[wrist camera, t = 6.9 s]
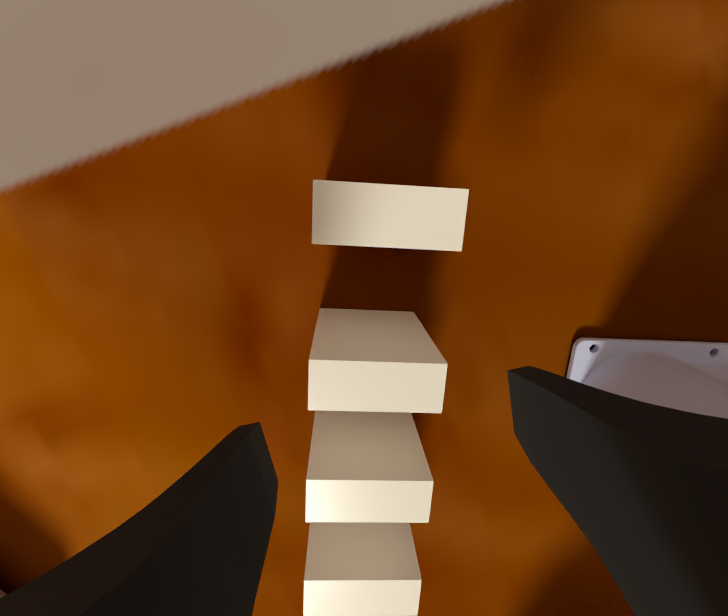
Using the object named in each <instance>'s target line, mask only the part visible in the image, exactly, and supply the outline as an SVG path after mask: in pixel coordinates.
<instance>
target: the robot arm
mask: <svg viewBox="0 0 728 616" xmlns="http://www.w3.org/2000/svg"><path fill="white" fill-rule="evenodd" d="M593 344H594V348H593V349H592V350H590V349H589V348H590V346H591V345H593ZM711 350H712V352H711V353H710V351H711ZM507 372H508V381H509V390H510V399H511V408H512V416H513V425H514V433H515V435H516V437H517V439H518V440H519V442H520V444H521V446H522V448H523V450H524V451H525V453H526V455H527V456H528V458H529V460H530V462H531V463H532V465H533V466H534V467H535V469H536V470H537V471H538V473H539V474H540V476H541V477H542V478H543V480H544V481H545V482H546V484H547V485H548V486H549V488H550V489H551V490H552V492H553V493H554V494H555V496H556V497H557V498H558V500H559V501H560V502H561V504H562V505H563V506H564V507H565V509H566V510H567V511H568V513H569V514H570V515H571V517H572V518H573V519H574V521H575V522H576V523H577V525H578V526H579V527H580V529H581V530H582V531H583V533H584V534H585V536H586V537H587V538H588V540H589V541H590V543H591V544H592V546H593V547H594V549H595V550H596V552H597V553H598V555H599V556H600V558H601V560H602V561H603V563H604V565H605V566H606V568H607V569H608V571H609V573H610V574H611V576H612V578H613V579H614V581H615V582H616V584H617V586H618V587H619V589H620V591H621V592H622V594H623V596H624V597H625V599H626V601H627V602H628V604H629V606H630V608H631V609H632V611H633V613H634V614H635V616H728V343H719V342H691V341H664V340H637V339H610V338H579V339H577V340H576V341H575V342H574V344H573V348H572V353H571V358H570V362H569V367H568V372H567V377H566V378H565V377H562V376H559V375H557V374H554V373H551V372H548V371H545V370H542V369H538V368H535V367H530V366H526V367H522V368H517V369H512V370H507ZM277 490H278V479H277V476H276V473H275V470H274V466H273V463H272V460H271V457H270V453H269V450H268V447H267V444H266V441H265V437H264V434H263V431H262V428H261V424H260V422H257V423H252V424H248V425H243V426H239V427H237V428H236V429H235V430H233V431H232V432H231V433H230V434H229V435H227V436H226V437H225V438H224V439H223V440H222V441H221V442H220V443H218V444H217V445H216V446H215V447H214V448H213V449H212V450H211V451H210V452H209V453H208V454H207V455H205V456H204V457H203V458H202V459H201V460H200V461H199V462H198V463H197V464H196V465H194V466H193V467H192V468H191V469H190V470H189V471H188V472H187V473H185V474H184V475H183V476H182V477H181V478H180V479H178V480H177V481H176V482H175V483H174V484H173V485H171V486H170V487H169V488H168V489H167V490H166V491H164V492H163V493H162V494H161V495H160V496H158V497H157V498H156V499H155V500H153V501H152V502H151V503H150V504H148V505H147V506H146V507H145V508H143V509H142V510H141V511H139V512H138V513H137V514H135V515H134V516H132V517H131V518H130V519H128V520H127V521H126V522H124V523H123V524H121V525H120V526H119V527H117V528H116V529H114V530H113V531H111V532H110V533H108V534H107V535H105V536H104V537H102V538H101V539H99V540H98V541H96V542H95V543H93V544H91V545H90V546H88V547H87V548H85V549H84V550H82V551H81V552H79V553H78V554H76V555H74V556H73V557H71V558H70V559H68V560H67V561H65V562H63V563H62V564H60V565H58V566H57V567H55V568H53V569H51V570H50V571H48V572H46V573H45V574H43V575H41V576H39V577H38V578H36V579H34V580H32V581H31V582H29V583H27V584H25V585H23V586H22V587H20V588H18V589H16V590H14V591H13V592H11V593H9V594H7V595H5V596H3V597H1V598H0V616H252V612H253V607H254V602H255V598H256V593H257V589H258V585H259V581H260V577H261V573H262V568H263V564H264V560H265V556H266V552H267V548H268V543H269V539H270V535H271V531H272V526H273V522H274V517H275V510H276V501H277Z"/></svg>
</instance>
